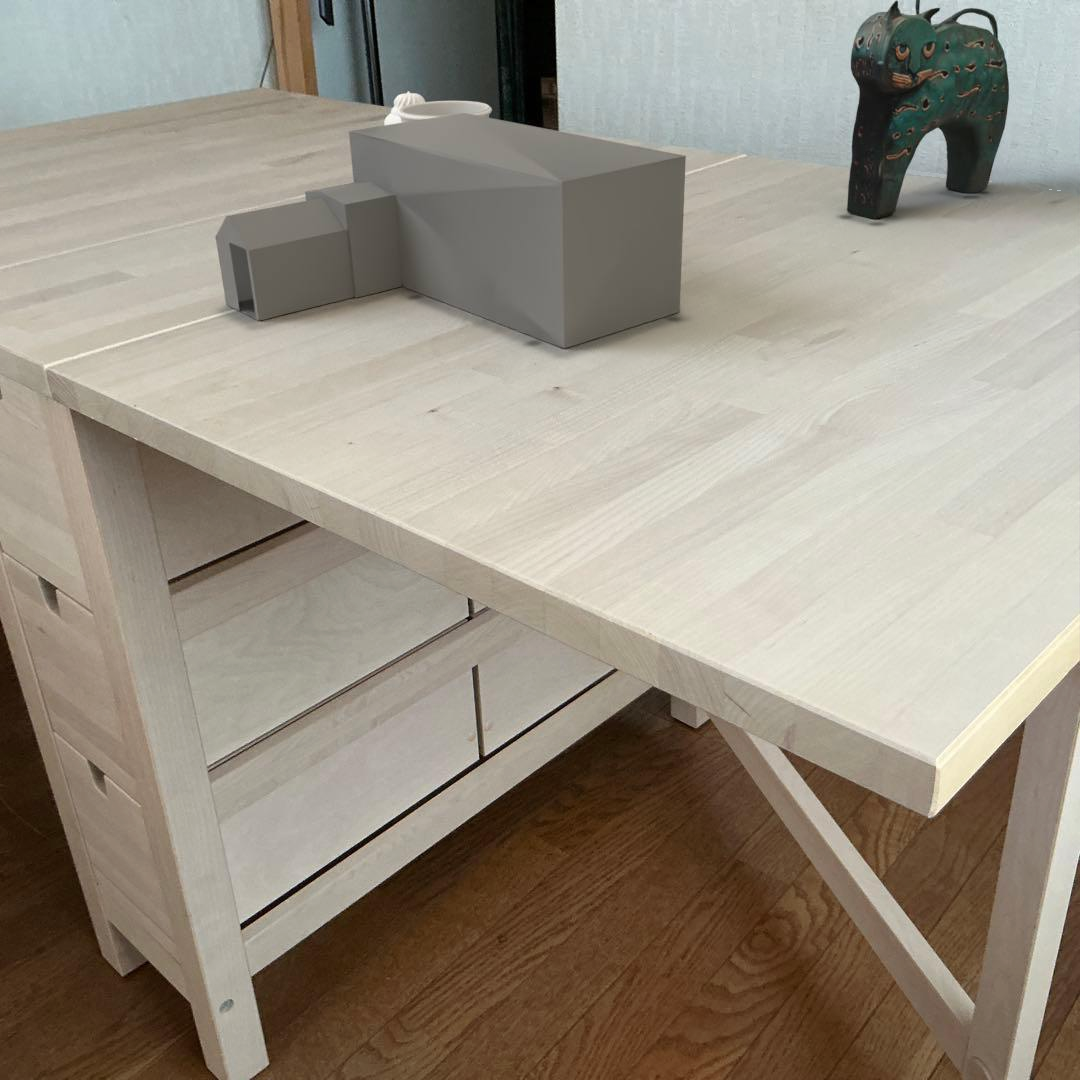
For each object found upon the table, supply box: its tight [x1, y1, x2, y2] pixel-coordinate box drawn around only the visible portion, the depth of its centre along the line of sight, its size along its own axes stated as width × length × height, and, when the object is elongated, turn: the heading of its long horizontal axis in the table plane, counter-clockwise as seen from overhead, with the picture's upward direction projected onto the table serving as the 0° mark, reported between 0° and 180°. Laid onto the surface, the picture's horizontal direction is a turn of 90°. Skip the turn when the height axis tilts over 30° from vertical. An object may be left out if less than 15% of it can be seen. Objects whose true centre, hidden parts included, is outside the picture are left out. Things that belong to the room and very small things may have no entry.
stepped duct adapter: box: [215, 113, 687, 349], centre depth 83 cm, size 25×23×11 cm
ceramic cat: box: [846, 0, 1010, 220], centre depth 105 cm, size 20×6×20 cm, turn 126°
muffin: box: [383, 90, 426, 126], centre depth 133 cm, size 6×6×7 cm
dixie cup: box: [398, 100, 493, 123], centre depth 105 cm, size 8×8×10 cm
